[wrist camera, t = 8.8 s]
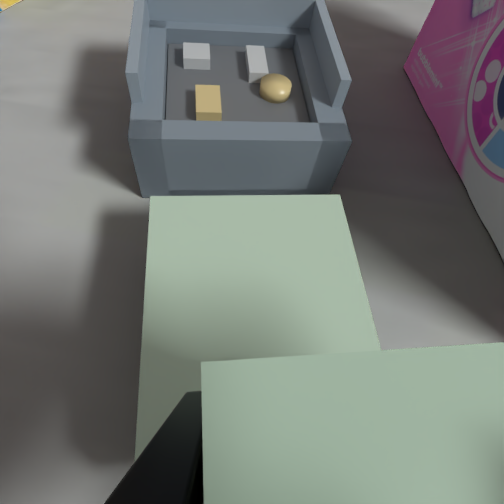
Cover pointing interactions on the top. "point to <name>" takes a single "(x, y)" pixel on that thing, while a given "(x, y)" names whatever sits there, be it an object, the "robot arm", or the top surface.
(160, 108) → the tub
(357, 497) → the pale green l-shaped piece
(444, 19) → the gum box
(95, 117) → the top surface
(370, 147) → the top surface
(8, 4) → the beverage box
